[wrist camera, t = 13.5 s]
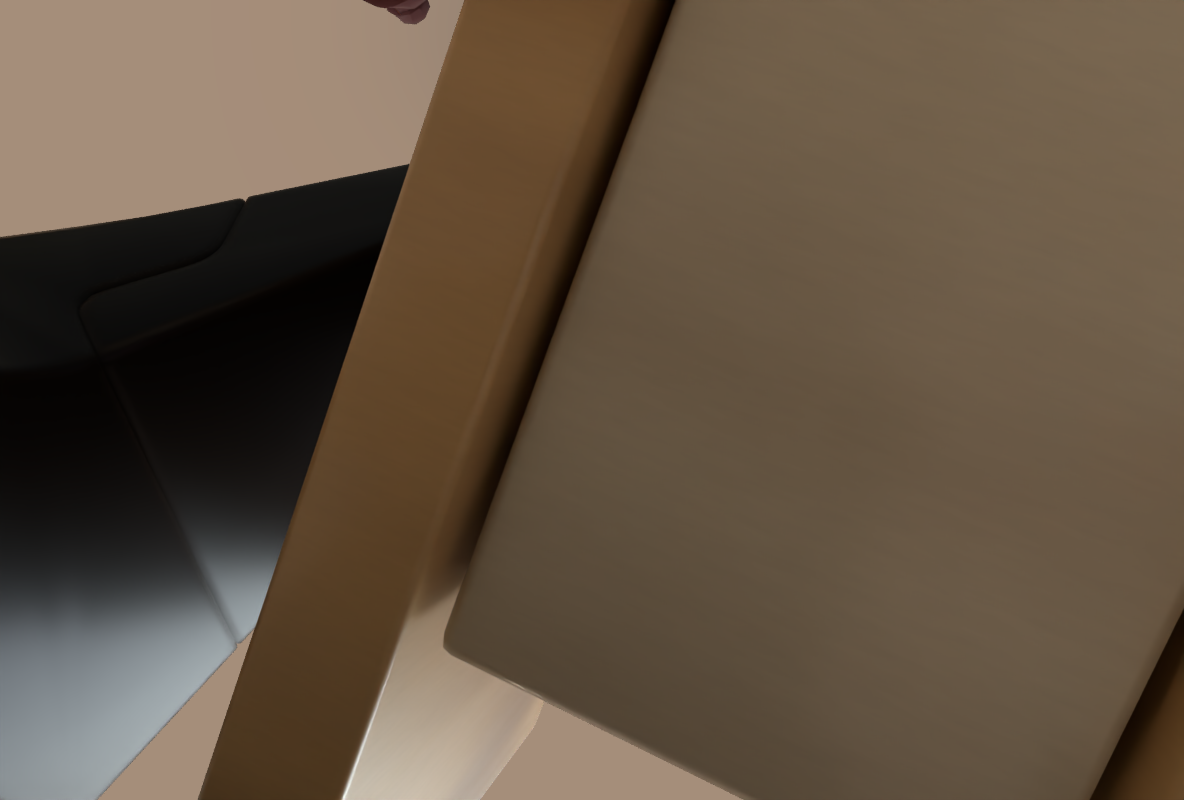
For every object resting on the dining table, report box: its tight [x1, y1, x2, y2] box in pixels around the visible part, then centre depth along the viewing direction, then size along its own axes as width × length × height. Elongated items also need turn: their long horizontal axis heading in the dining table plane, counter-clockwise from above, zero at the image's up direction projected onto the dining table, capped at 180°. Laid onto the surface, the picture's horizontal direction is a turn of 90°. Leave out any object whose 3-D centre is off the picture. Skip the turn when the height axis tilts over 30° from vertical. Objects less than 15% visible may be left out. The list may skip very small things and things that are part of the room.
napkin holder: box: [198, 0, 1184, 800], centre depth 7 cm, size 6×5×13 cm
